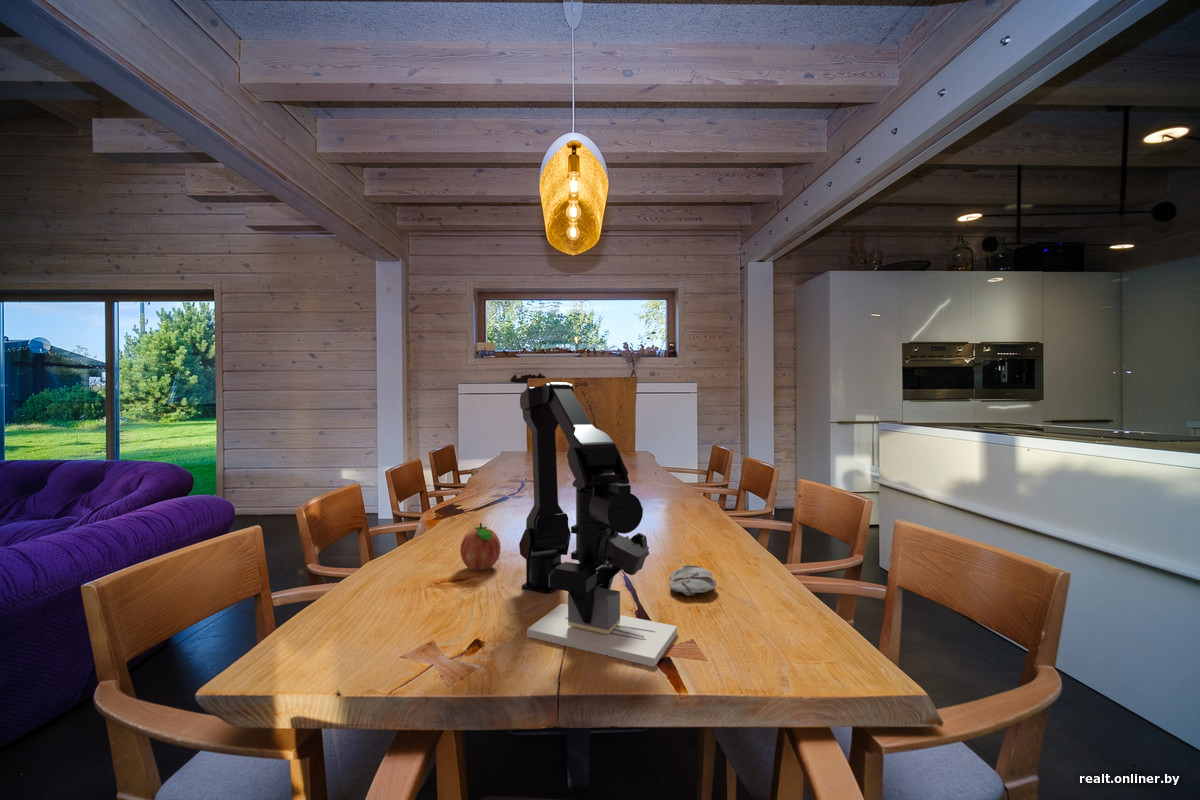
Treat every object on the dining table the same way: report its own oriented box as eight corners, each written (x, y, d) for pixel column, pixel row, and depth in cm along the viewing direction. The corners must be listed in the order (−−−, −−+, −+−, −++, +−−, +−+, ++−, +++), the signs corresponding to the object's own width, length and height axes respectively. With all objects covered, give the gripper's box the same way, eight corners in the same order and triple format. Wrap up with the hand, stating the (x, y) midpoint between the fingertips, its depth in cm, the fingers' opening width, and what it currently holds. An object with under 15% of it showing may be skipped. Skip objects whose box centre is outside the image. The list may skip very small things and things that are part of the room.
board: (527, 636, 79) (527, 628, 79) (561, 610, 89) (561, 603, 89) (654, 667, 70) (654, 658, 70) (677, 633, 80) (677, 626, 80)
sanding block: (567, 625, 80) (567, 593, 80) (581, 614, 84) (581, 584, 84) (608, 634, 77) (608, 601, 77) (620, 622, 81) (620, 591, 81)
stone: (719, 602, 94) (719, 584, 94) (670, 600, 94) (670, 582, 94) (710, 579, 106) (710, 563, 106) (666, 577, 106) (666, 562, 106)
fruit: (459, 577, 106) (459, 529, 106) (461, 563, 115) (461, 519, 115) (501, 574, 108) (501, 527, 108) (499, 560, 117) (499, 517, 117)
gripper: (616, 539, 68) (617, 654, 68) (661, 512, 85) (661, 604, 85) (546, 530, 73) (546, 638, 73) (601, 506, 90) (601, 593, 90)
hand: (594, 617), depth 80 cm, fingers closed on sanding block, 4 cm apart
